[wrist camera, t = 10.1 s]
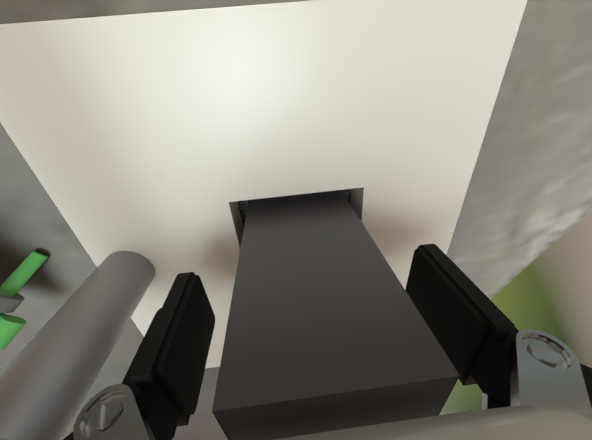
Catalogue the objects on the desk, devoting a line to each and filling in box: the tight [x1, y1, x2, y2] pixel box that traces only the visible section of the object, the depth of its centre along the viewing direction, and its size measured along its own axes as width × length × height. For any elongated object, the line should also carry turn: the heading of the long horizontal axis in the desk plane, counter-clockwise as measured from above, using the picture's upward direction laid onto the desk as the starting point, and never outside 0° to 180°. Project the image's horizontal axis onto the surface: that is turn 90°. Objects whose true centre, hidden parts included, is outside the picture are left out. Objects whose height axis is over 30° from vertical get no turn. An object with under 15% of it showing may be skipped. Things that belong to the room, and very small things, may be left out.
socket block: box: [0, 0, 527, 440], centre depth 11 cm, size 20×19×9 cm
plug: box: [212, 190, 460, 440], centre depth 10 cm, size 5×5×10 cm
